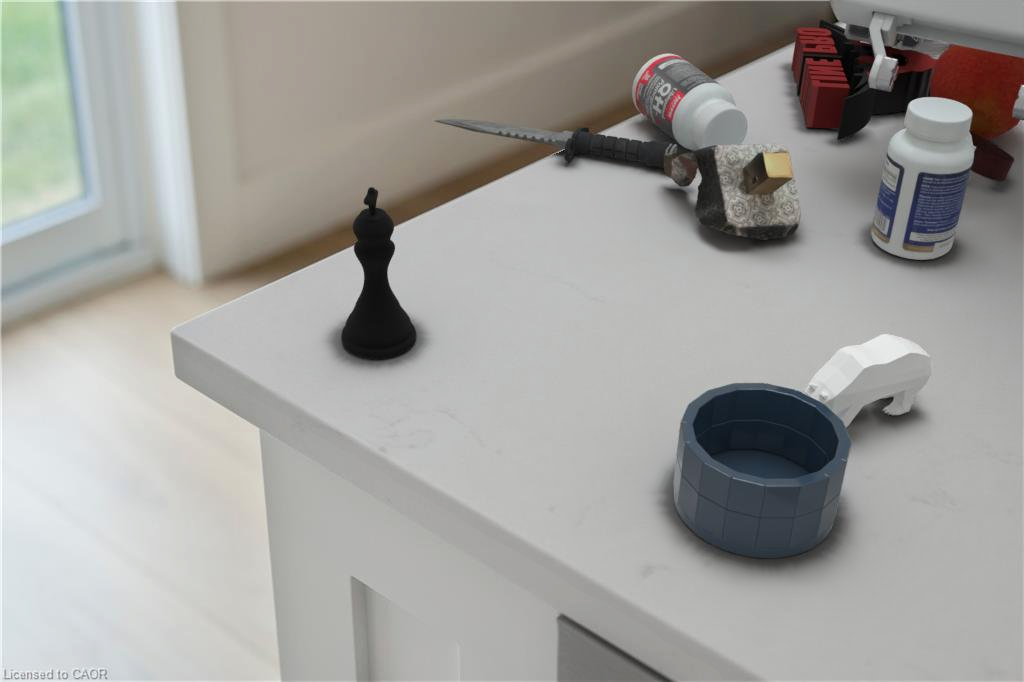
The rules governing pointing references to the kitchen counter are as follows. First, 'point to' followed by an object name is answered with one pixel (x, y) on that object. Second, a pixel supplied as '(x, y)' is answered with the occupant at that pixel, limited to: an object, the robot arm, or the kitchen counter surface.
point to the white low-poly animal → (872, 376)
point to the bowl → (760, 469)
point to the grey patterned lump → (741, 188)
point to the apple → (980, 86)
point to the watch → (989, 158)
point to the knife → (576, 141)
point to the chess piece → (376, 291)
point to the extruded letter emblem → (851, 79)
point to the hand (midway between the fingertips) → (949, 101)
